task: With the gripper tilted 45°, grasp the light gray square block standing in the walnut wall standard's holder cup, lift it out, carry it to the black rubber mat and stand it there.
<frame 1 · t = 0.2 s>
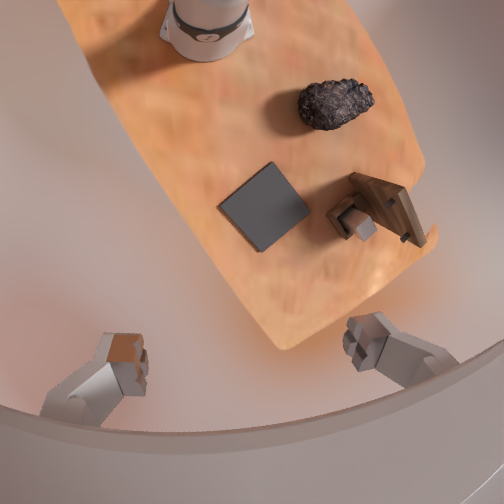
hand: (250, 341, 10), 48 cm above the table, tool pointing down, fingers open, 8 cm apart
light gray square block: (344, 215, 63), resting in wall standard
rubber mat: (266, 207, 59), on the table
wall standard: (344, 215, 63), on the table
dark porous rock: (328, 102, 52), on the table
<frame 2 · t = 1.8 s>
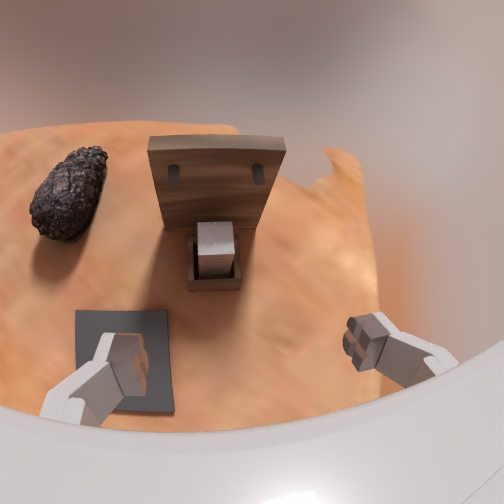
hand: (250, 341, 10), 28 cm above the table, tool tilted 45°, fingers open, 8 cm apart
light gray square block: (212, 266, 40), resting in wall standard
rubber mat: (121, 361, 33), on the table
wall standard: (212, 266, 40), on the table
dark porous rock: (78, 202, 41), on the table
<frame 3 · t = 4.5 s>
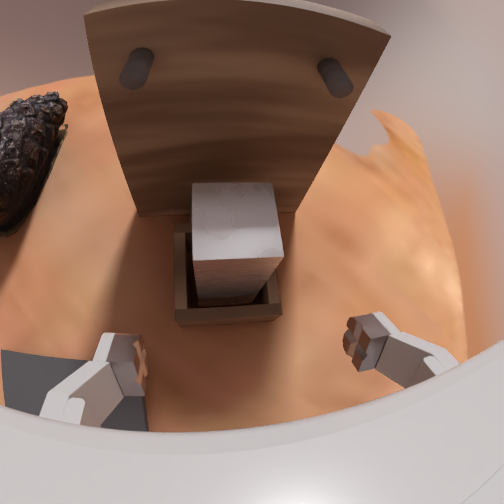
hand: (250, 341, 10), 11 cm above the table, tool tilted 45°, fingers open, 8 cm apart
light gray square block: (223, 279, 22), resting in wall standard
rubber mat: (72, 439, 15), on the table
wall standard: (223, 279, 22), on the table
dark porous rock: (25, 176, 23), on the table
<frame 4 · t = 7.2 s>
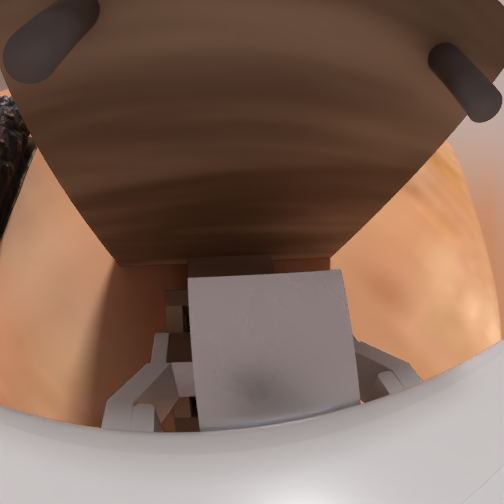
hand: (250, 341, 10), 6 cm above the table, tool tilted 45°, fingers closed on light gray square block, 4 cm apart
light gray square block: (236, 359, 15), resting in wall standard, touching gripper
wall standard: (236, 359, 15), on the table
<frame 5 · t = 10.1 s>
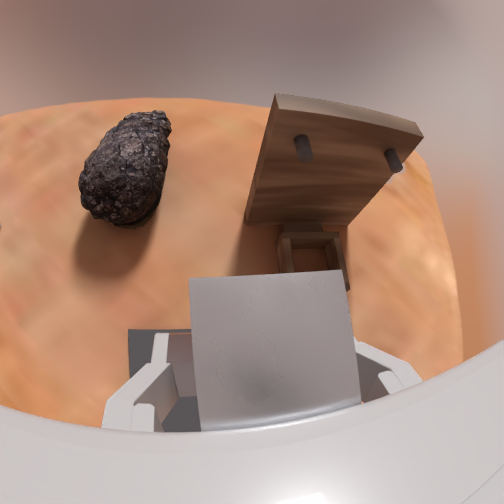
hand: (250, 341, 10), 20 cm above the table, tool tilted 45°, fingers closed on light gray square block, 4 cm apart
light gray square block: (237, 359, 15), point 14 cm above the table, touching gripper
rubber mat: (197, 394, 26), on the table
wall standard: (308, 269, 33), on the table
dark porous rock: (135, 179, 35), on the table
when the fingers open (8 cm above the table, at t = 13.5 s): light gray square block drops 1 cm, resting on rubber mat.
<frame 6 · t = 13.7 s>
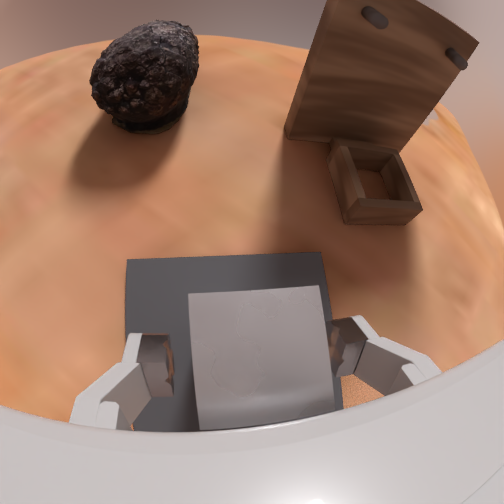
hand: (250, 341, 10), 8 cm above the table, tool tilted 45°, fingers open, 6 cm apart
light gray square block: (233, 359, 17), point 1 cm above the table, touching rubber mat
rubber mat: (233, 359, 17), on the table
wall standard: (366, 191, 25), on the table
dark porous rock: (153, 93, 26), on the table
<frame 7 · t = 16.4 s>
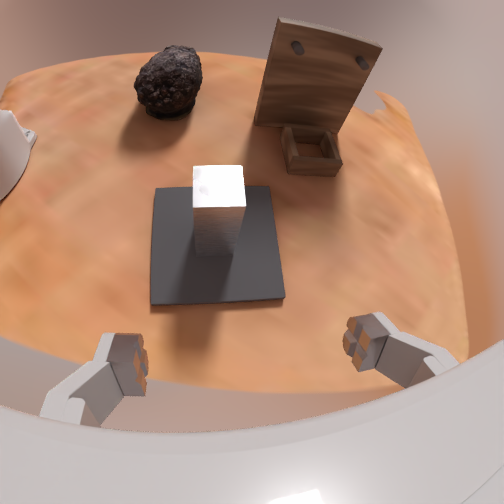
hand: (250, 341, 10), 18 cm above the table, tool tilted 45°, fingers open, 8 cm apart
light gray square block: (213, 238, 30), point 1 cm above the table, touching rubber mat
rubber mat: (214, 241, 31), on the table
wall standard: (306, 156, 39), on the table
dark porous rock: (171, 94, 41), on the table
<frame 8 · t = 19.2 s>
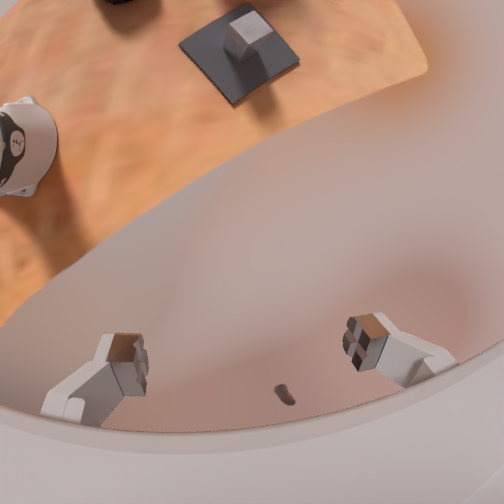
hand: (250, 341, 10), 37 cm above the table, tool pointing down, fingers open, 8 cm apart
light gray square block: (240, 49, 35), point 1 cm above the table, touching rubber mat
rubber mat: (240, 50, 36), on the table
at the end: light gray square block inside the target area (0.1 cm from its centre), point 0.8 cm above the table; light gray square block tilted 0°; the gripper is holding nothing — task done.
